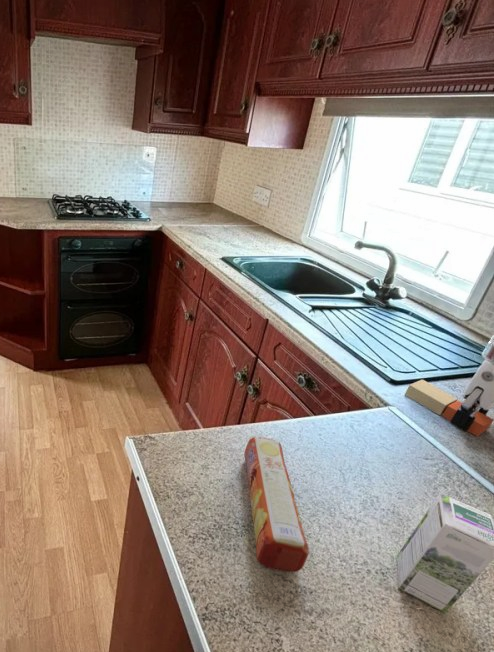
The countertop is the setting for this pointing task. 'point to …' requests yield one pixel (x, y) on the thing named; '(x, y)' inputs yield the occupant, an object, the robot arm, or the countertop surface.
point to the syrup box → (446, 552)
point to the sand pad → (430, 396)
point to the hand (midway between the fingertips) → (465, 422)
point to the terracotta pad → (478, 424)
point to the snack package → (274, 508)
